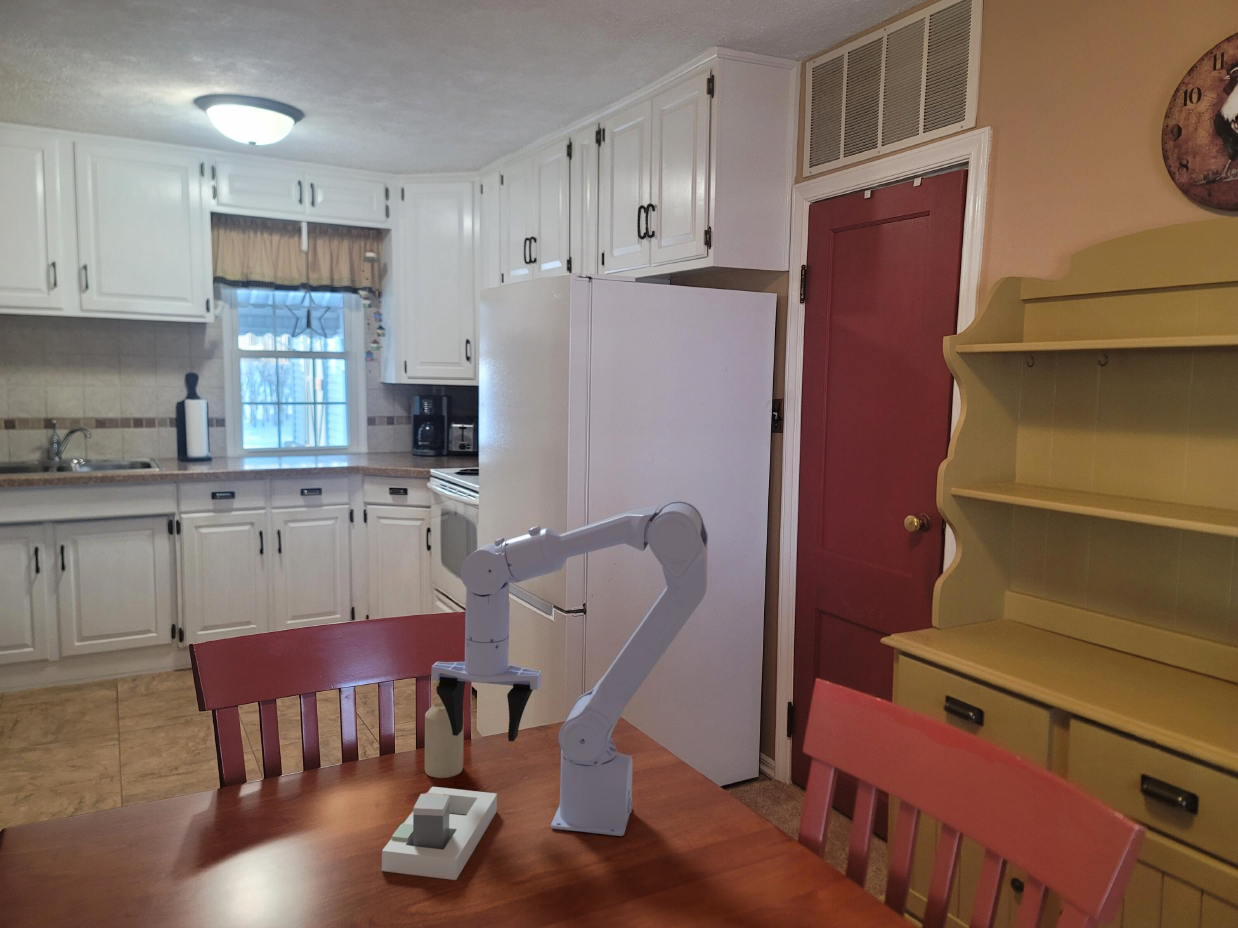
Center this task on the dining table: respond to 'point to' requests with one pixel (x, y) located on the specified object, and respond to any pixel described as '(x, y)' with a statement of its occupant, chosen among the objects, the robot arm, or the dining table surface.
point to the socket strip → (461, 837)
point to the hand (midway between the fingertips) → (485, 735)
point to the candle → (442, 744)
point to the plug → (431, 821)
